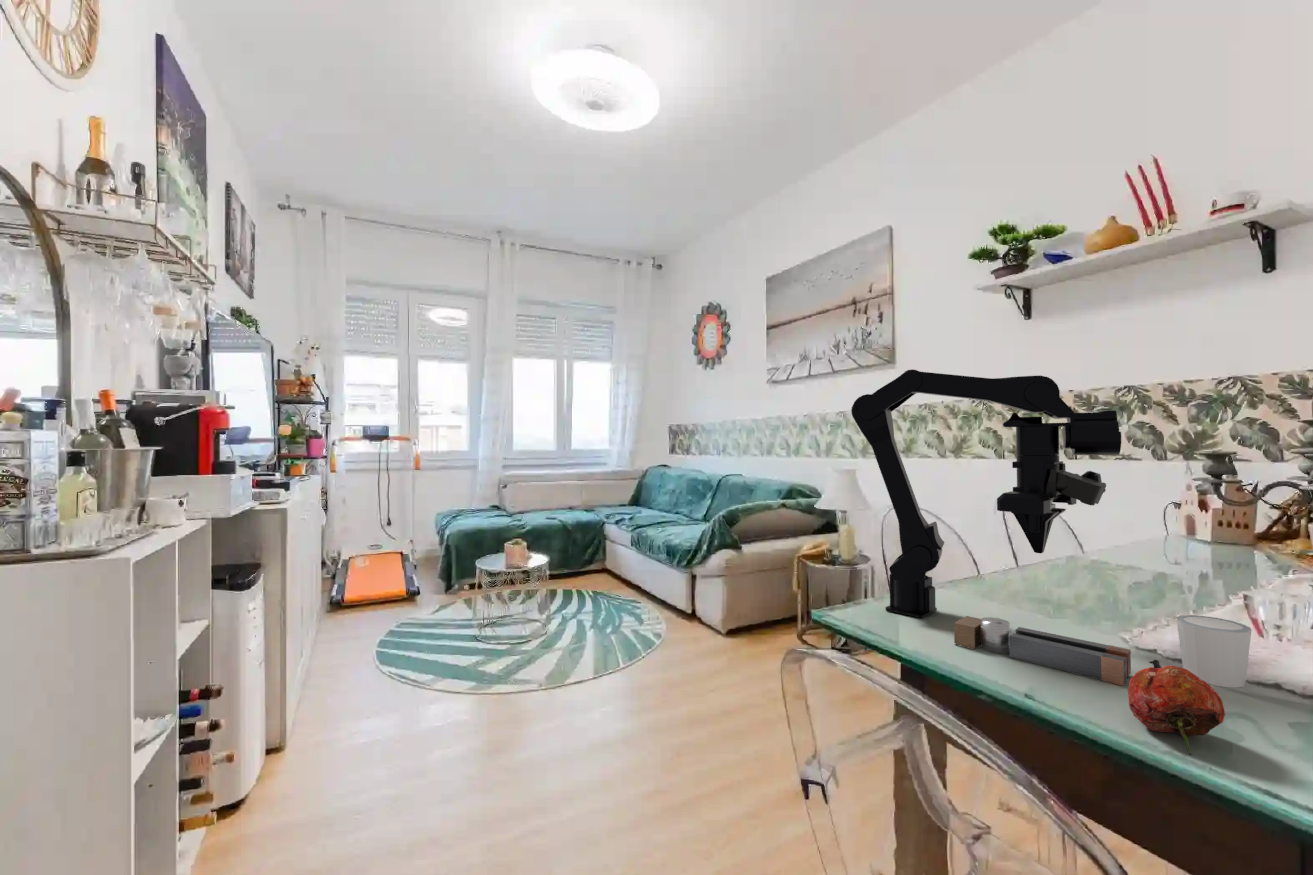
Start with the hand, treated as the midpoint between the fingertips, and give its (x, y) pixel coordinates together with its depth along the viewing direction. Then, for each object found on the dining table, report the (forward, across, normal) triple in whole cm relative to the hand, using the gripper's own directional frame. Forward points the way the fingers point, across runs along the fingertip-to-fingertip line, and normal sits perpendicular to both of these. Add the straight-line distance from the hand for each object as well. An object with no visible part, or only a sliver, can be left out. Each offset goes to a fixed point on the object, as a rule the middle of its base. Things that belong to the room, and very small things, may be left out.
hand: (1039, 552), depth 92 cm
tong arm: (+12, -14, -7) cm, 19 cm away
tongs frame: (+12, -15, -4) cm, 20 cm away
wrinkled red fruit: (+12, -28, -19) cm, 36 cm away
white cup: (+12, -6, -20) cm, 25 cm away
